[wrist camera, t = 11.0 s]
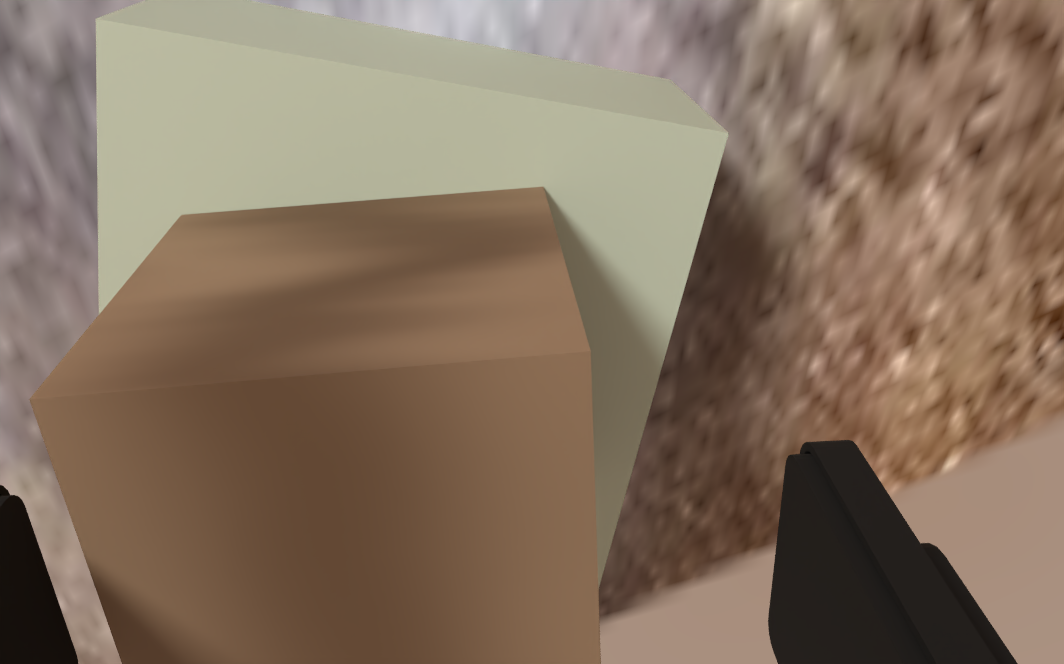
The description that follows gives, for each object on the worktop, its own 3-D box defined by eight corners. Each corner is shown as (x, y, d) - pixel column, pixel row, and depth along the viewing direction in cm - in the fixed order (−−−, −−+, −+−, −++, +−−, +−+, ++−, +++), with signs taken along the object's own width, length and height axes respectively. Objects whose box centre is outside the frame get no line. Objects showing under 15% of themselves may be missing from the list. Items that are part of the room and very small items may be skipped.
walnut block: (543, 186, 15) (590, 351, 10) (558, 480, 18) (602, 735, 13) (180, 214, 15) (28, 398, 10) (251, 508, 18) (163, 780, 12)
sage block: (666, 76, 20) (729, 133, 15) (570, 461, 24) (596, 595, 19) (185, -15, 18) (96, 18, 14) (172, 413, 22) (101, 546, 18)
